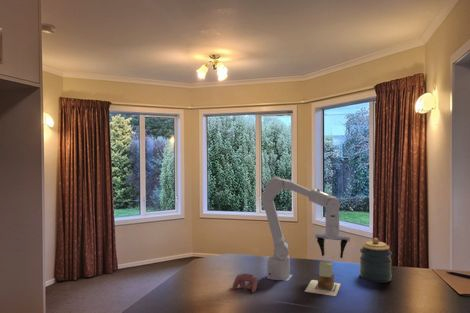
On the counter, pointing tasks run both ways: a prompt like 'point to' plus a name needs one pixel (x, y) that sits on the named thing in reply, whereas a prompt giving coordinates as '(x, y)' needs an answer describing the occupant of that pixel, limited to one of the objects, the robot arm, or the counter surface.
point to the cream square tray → (314, 289)
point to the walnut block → (326, 282)
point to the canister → (375, 261)
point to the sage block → (325, 268)
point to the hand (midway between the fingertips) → (332, 256)
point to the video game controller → (249, 278)
